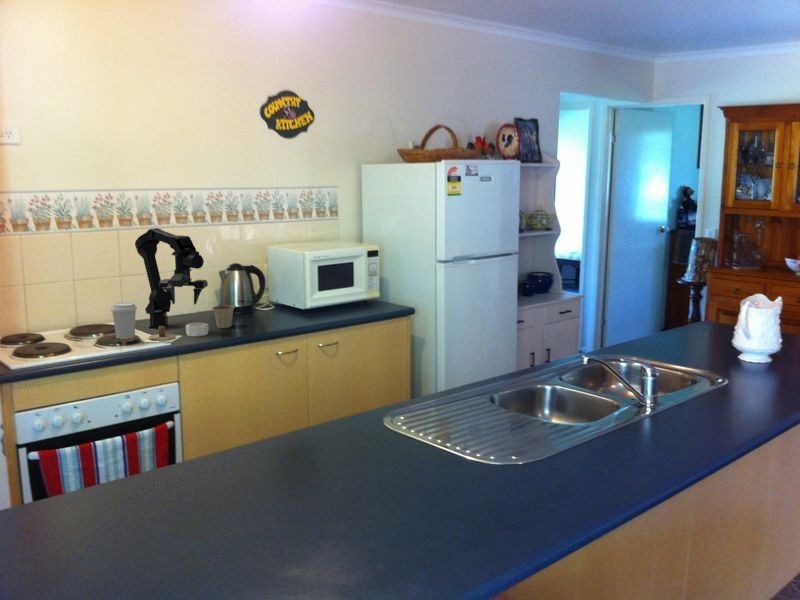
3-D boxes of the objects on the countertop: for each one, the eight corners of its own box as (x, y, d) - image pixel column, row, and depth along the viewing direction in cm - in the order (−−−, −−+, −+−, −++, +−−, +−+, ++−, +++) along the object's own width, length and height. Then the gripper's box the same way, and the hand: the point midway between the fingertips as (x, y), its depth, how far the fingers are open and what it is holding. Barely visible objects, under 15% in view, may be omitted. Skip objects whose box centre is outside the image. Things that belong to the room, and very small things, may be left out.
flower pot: (222, 330, 311) (221, 310, 309) (208, 327, 316) (207, 307, 315) (239, 326, 318) (239, 307, 317) (225, 323, 324) (224, 304, 322)
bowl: (183, 336, 298) (183, 326, 298) (191, 331, 307) (190, 322, 306) (203, 336, 298) (203, 327, 297) (210, 332, 306) (210, 322, 305)
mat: (141, 342, 287) (141, 340, 287) (153, 336, 298) (153, 335, 297) (171, 343, 286) (171, 341, 286) (182, 337, 297) (182, 335, 296)
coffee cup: (107, 342, 286) (105, 304, 284) (126, 338, 295) (124, 301, 292) (124, 345, 282) (122, 306, 280) (144, 340, 290) (142, 303, 288)
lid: (144, 340, 287) (144, 328, 286) (155, 335, 297) (154, 323, 296) (169, 341, 286) (169, 329, 285) (179, 335, 296) (178, 324, 295)
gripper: (152, 268, 294) (154, 307, 296) (197, 269, 292) (199, 308, 295) (163, 265, 305) (165, 302, 307) (207, 266, 303) (208, 303, 306)
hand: (184, 304), depth 303 cm, fingers open, 9 cm apart
